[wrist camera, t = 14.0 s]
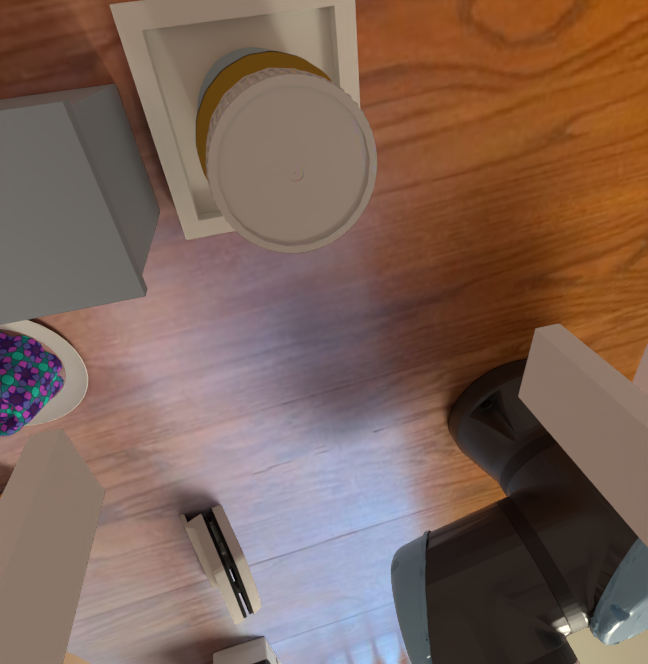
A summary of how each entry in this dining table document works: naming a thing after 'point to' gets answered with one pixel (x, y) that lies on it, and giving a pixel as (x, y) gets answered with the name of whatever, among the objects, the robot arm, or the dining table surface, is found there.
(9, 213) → the storage box
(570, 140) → the dining table surface
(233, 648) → the tea box
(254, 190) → the bottle
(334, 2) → the tray
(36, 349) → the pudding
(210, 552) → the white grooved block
